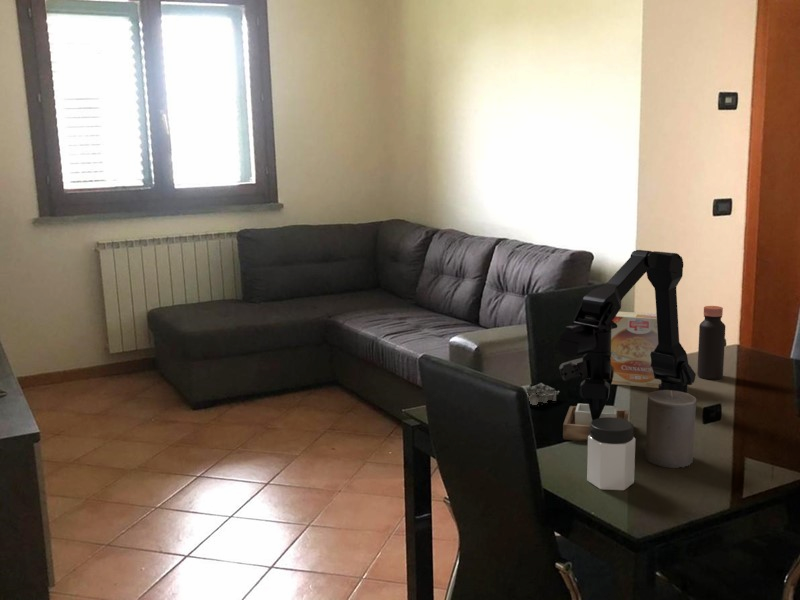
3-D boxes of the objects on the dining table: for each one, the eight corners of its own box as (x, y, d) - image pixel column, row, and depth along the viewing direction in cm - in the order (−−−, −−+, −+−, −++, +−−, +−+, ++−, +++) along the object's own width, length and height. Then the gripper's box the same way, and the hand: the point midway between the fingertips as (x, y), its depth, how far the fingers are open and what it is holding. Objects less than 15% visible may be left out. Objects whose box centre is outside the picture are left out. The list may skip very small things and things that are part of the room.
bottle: (726, 379, 221) (730, 309, 217) (702, 380, 221) (705, 310, 218) (717, 373, 228) (720, 304, 224) (693, 373, 228) (696, 305, 224)
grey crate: (616, 426, 185) (617, 406, 184) (615, 435, 180) (615, 414, 179) (577, 423, 188) (577, 403, 187) (574, 432, 182) (575, 411, 181)
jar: (601, 469, 162) (602, 413, 160) (639, 479, 157) (641, 421, 155) (580, 484, 155) (581, 426, 153) (619, 495, 150) (621, 434, 148)
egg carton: (531, 410, 201) (531, 394, 200) (511, 402, 207) (511, 387, 207) (561, 401, 207) (561, 386, 206) (541, 394, 213) (541, 380, 212)
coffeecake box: (609, 384, 220) (610, 315, 216) (612, 377, 226) (614, 310, 223) (665, 389, 214) (668, 318, 211) (668, 382, 221) (670, 313, 217)
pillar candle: (635, 458, 168) (637, 390, 165) (662, 446, 173) (665, 381, 170) (675, 472, 160) (679, 401, 157) (703, 460, 166) (707, 391, 163)
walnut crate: (628, 424, 188) (628, 410, 187) (625, 444, 175) (625, 429, 175) (569, 419, 192) (570, 405, 192) (562, 439, 179) (563, 424, 179)
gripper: (566, 338, 191) (566, 400, 194) (556, 357, 174) (556, 425, 177) (614, 340, 188) (613, 403, 191) (609, 360, 170) (607, 430, 173)
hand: (596, 415), depth 183 cm, fingers open, 9 cm apart
